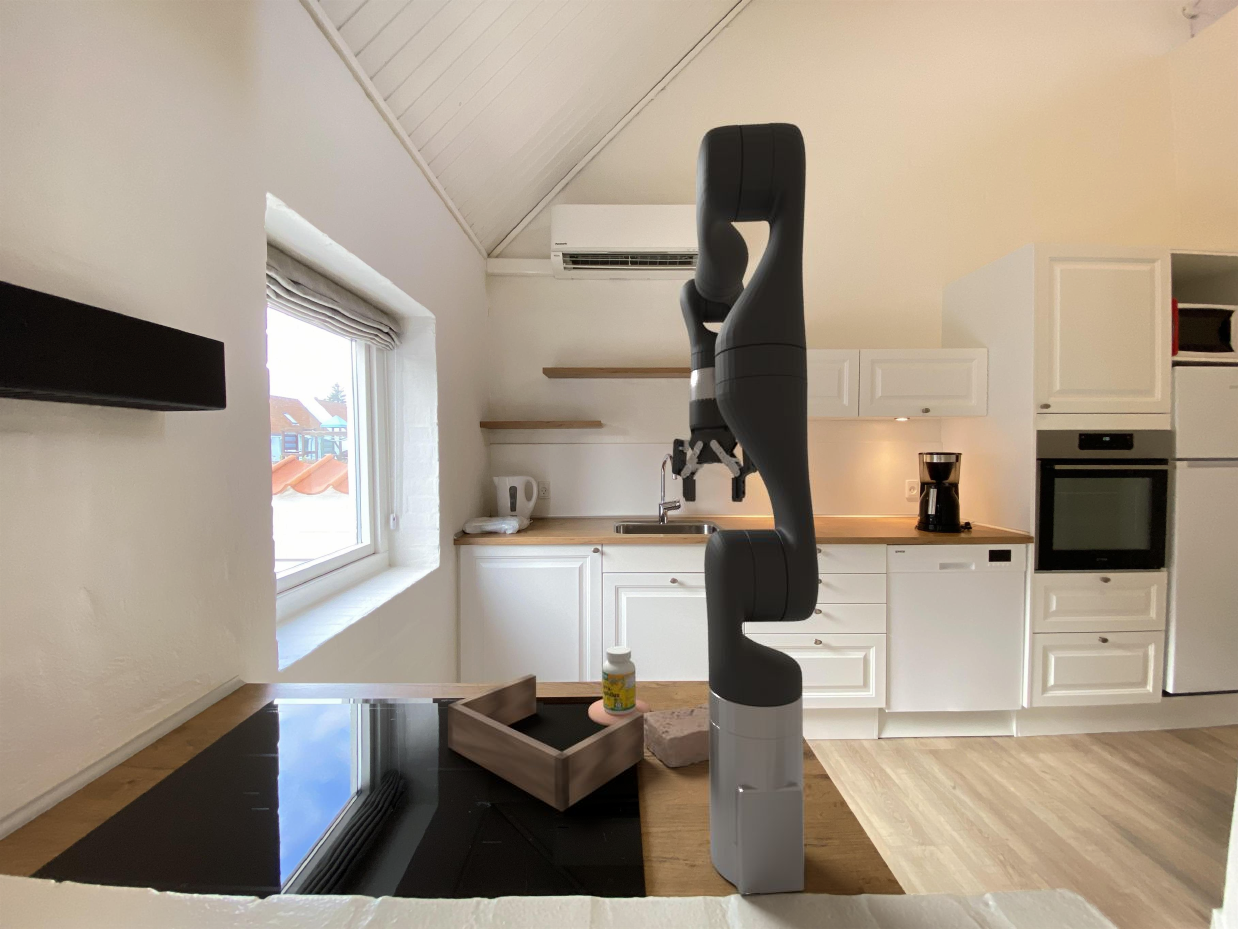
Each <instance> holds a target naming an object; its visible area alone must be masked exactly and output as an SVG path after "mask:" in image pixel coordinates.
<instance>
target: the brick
mask: <svg viewBox="0 0 1238 929" xmlns="http://www.w3.org/2000/svg"><path fill="white" fill-rule="evenodd" d="M644 746H646V747H647V748H648V750H649V751H650V752H651V753H653V754H654V755H655V756H656V758H657V759H658V760H660V761H661V762H663V763H664V764H665V765H666V766H667V767H669V768H679V767H685V766H689V765H691V764H698V763H700V762H704V761H709V702H704V703H702V704H698V705H695V706H694V707H687V706H685V707H678V708H676V709H672V710H671V709H663V710H657V711H650V712H648V713H645V714H644Z"/></svg>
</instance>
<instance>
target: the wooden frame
mask: <svg viewBox="0 0 1238 929" xmlns="http://www.w3.org/2000/svg"><path fill="white" fill-rule="evenodd" d="M536 713H537V675H536V674H532V673H530V674H527V675H525V676H522V677H519V678H517V679H514V680H511V681H508V682H506V683H503V684H501V685H498V686H495V687H493V688H490V689H486V690H485V691H482V692H479V693H477V694H473V695H471V696H468V697H465V698H463V699H460V700H457V701H454V702H453V703H450V704H449V703H448V705H447V747H448V748H449V749H451V750H452V751H454V752H456V753H458V754H460V755H461V756H463V757H464V758H467V759H468V760H470V761H472V762H474V763H476V764H477V765H479V766H481V767H482V768H484V769H486V770H488V771H490V772H492V774H494V775H496V776H498V777H500V778H501V779H504V780H506V781H507V782H509V783H511V784H513V785H515V786H516V787H518V788H519V789H521V790H523V791H525V792H527V793H528V794H529V795H531V796H534V797H535V798H537V799H538V800H541V801H542V802H544V803H545V804H548V805H549V806H551V807H553V808H554V809H557V810H558V811H560V812H563V811H565V810H566V809H568V808H570V807H571V806H573V805H575V804H576V803H577V802H579V801H580V800H582V799H584V798H585V797H587V796H588V795H590V794H591V793H593V792H595V791H596V790H597V789H599V788H601V787H602V786H603V785H605V784H606V783H608V782H609V781H611V780H613V779H614V778H616V777H617V776H619V775H620V774H621V773H623V772H624V771H626V770H628V769H630V768H631V767H632V766H634V765H635V764H636V763H639V762H640V761H642V760H643V759H644V758H645V743H644V714H643V713H640V712H635V713H633V714H631V715H629V716H627V717H626V718H624V719H622V720H620V721H618V722H616V723H614V724H613V725H611V726H606V727H605V728H604V729H601V730H600V731H598V732H596V733H594V734H592V735H591V736H588V737H587V738H584V740H582V741H580V742H577V743H576V744H574V745H572V746H570V747H568V748H567V749H565V750H563V751H560V750H559V749H556V748H554V747H552V746H549V745H548V744H546V743H543V742H542V741H539V740H537V739H535V738H533V737H531V736H529V735H527V734H524V733H522V732H519V731H518V730H515V729H513V728H511V727H509V725H511V724H515V723H516V722H518V721H521V720H523V719H525V718H527V717H530V716H533V715H534V714H536Z"/></svg>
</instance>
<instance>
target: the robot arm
mask: <svg viewBox="0 0 1238 929" xmlns="http://www.w3.org/2000/svg"><path fill="white" fill-rule="evenodd" d="M804 139H805V138H804V136H803V133H802V131H801V130H800V128H799V126H798V125H796V124H793V123H790V122H789V123H787V122H769V123H751V124H748V123H747V124H732V125H730V124H728V125H722V126H721V125H720V126H717V127H713V128H711V129H709V130H708V131H707V132H706V133H705V135H704V136H703V138H702V140H701V142H700V146H699V149H698V155H697V161H696V168H695V169H696V170H695V219H696V221H695V222H696V223H695V225H696V237H697V249H698V250H697V253H698V254H697V260H696V267H695V272H694V278H691V279H688V280H687V281H686V282H685V283H684V284H683V286H682V288H681V290H680V293H679V306H680V310H681V314H682V317H683V319H684V323H685V326H686V330H687V334H688V339H689V346H690V378H689V379H690V380H689V386H688V387H689V390H688V391H689V395H688V396H689V397H688V398H689V399H688V401H689V402H688V404H689V405H688V406H689V409H688V411H689V412H688V414H689V415H688V416H689V418H688V420H689V421H688V422H689V423H688V424H689V427H688V428H689V431H690V437H689V439H682V438H675V439H674V440H673V442H672V445H673V446H672V464H671V473H672V474H673V475H676V476H677V477H680V478H682V497H683V499H684V501H685V502H687V503H688V502H689V503H691V502H693V503H695V502H696V500H697V499H696V498H697V488H696V486H697V482H696V481H697V480H696V478H695V477H696V476H697V474H698V473H699V471H700V470H701V469H702V468H704V466H705V465H713V464H723V465H724V466H726V467H727V469H728V470H729V471H730V472H731V474H732V476H733V477H731V501H732V503H742V502H743V499H745V498H746V493H747V492H746V479H747V477H748V476H750V475H752V474H755V473H757V472H758V474H759V476H760V477H761V480H762V481H763V485H764V486H765V488H766V491H767V493H768V496H769V502H770V505H771V509H772V515H773V520H774V521H773V522H774V528H773V529H770V528H769V529H768V528H766V529H764V528H763V529H761V528H760V529H759V528H758V529H756V528H755V529H747V528H746V529H742V528H741V529H721V530H719V529H718V530H715V531H714V532H712V533H711V535H709V537H708V539H707V542H706V545H705V550H704V565H703V566H704V567H703V569H704V585H705V586H704V588H705V601H706V617H707V654H708V657H707V659H708V703H709V759H708V766H709V767H708V769H709V771H708V774H709V775H708V777H709V778H708V779H709V780H708V782H709V784H708V785H709V787H708V788H709V792H708V793H709V796H708V798H709V853H710V860H711V862H712V865H713V866H714V868H715V869H716V871H717V872H718V873H719V874H720V875H721V876H722V877H723V878H724V879H725V880H727V881H729V882H730V883H732V884H733V885H734V886H735V887H736V889H737V891H738V893H739V894H740V895H742V894H746V893H760V894H772V893H786V892H800V891H804V890H805V826H804V825H805V822H804V820H805V819H804V818H805V817H804V816H805V815H804V812H805V810H804V808H805V807H804V802H805V800H804V730H803V729H804V725H803V723H804V716H803V715H804V714H803V713H804V712H803V711H804V710H803V709H804V708H803V702H804V700H803V695H804V694H803V693H804V692H803V689H804V688H803V671H802V668H801V665H800V664H799V663H798V662H797V660H796V659H794V658H793V657H792V656H791V655H789V654H787V653H786V652H783V651H781V650H778V649H775V648H773V647H770V646H766V645H765V644H761V643H760V642H759V643H758V642H756V641H755V640H753V639H751V638H750V637H748V636H747V635H745V634H744V632H743V623H777V622H778V623H790V622H791V623H792V622H802V621H806V620H808V619H810V618H811V617H812V615H813V614H814V612H815V611H816V607H817V604H818V597H819V590H820V589H819V587H820V586H819V585H820V583H819V582H820V580H819V578H820V577H819V576H820V574H819V573H820V572H819V570H820V569H819V560H818V546H817V539H816V538H817V536H816V531H815V530H816V529H815V519H814V511H813V500H812V492H811V482H810V481H811V480H810V469H809V468H810V467H809V444H808V443H809V442H808V393H809V392H808V389H809V388H808V386H809V385H808V355H807V353H808V352H807V350H808V348H807V336H806V319H805V305H804V303H805V301H804V281H803V280H804V278H803V277H804V273H803V270H804V269H803V265H804V264H803V262H804V261H803V260H804V259H803V258H804V257H803V255H804V253H803V252H804V234H805V233H804V230H805V210H806V209H805V208H806V188H807V187H806V185H807V184H806V182H807V181H806V179H807V177H806V175H807V158H806V157H807V156H806V144H805V140H804ZM749 222H750V223H753V222H754V223H755V222H767V223H768V226H769V234H768V240H767V243H766V246H765V249H764V252H763V254H762V256H761V258H760V261H759V263H758V264H757V267H756V269H755V271H754V273H753V274H752V276H751V278H750V280H749V281H748V282H747V285H745V286H744V282H743V280H744V277H745V275H746V272H747V268H748V264H749V248H748V246H747V243H746V242H747V241H746V240H745V239H744V237H743V235H742V234H741V232H739V230H738V229H737V228H736V227H735V225H733V224H732V223H749ZM720 323H721V324H722V325H721V327H720V329H719V331H718V332H716V331H712V330H710V329H709V328H707V327H706V326H705V324H720ZM738 444H739V447H740V448H741V454H742V461H741V458H739V457H738V455H737V454H736V452H735V449H736V448H737V447H738ZM690 450H691V451H692V452H691V453H690V455H689V457H688V453H689V451H690ZM746 895H747V894H746Z"/></svg>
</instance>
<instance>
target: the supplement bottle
mask: <svg viewBox="0 0 1238 929" xmlns="http://www.w3.org/2000/svg"><path fill="white" fill-rule="evenodd" d="M605 654H606V656H605V657H606V659H607V660H606V661H605V662H604V663H603V665H602V699H603V708H604V710H605V711H606V712H607V713H609V714H612V715H626V714H630V713H632V712H633V711H634V710H635V708H636V699H637V697H636V696H637V694H636V693H637V692H636V690H637V689H636V688H637V687H636V683H637V682H636V681H637V680H636V678H637V677H636V674H637V673H636V665H635V663H634V662H633V661H632V660H631V658H632V650H631V648H629V647H627V646H621V645H620V646H616V645H615V646H611V647H608V648H607V649H606V653H605Z"/></svg>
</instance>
